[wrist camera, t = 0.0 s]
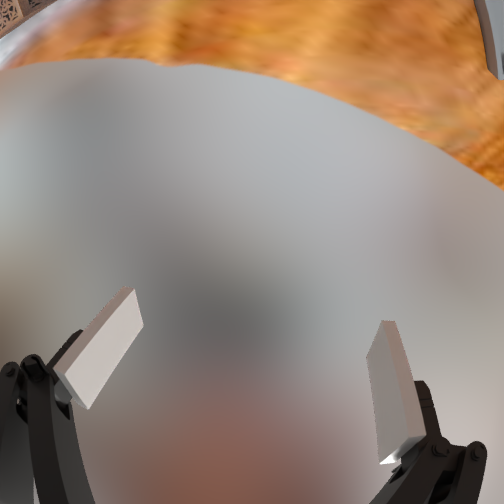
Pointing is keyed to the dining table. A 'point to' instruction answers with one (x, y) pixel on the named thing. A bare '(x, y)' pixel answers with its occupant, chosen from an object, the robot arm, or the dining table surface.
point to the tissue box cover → (18, 12)
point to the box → (492, 34)
